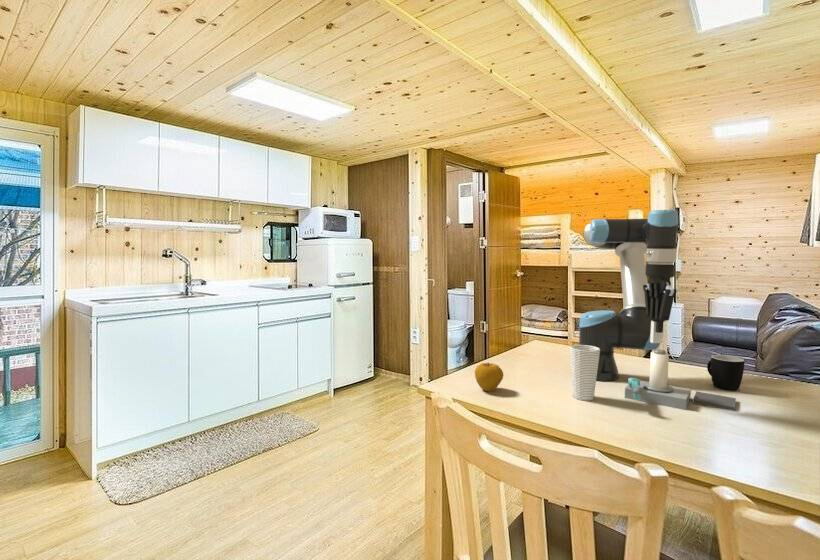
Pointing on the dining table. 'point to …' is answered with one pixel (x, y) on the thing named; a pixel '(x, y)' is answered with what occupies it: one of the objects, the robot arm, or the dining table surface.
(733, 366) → the mug
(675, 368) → the dining table surface
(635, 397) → the clip
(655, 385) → the plug
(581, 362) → the cup
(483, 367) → the apple
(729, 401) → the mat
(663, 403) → the socket block
